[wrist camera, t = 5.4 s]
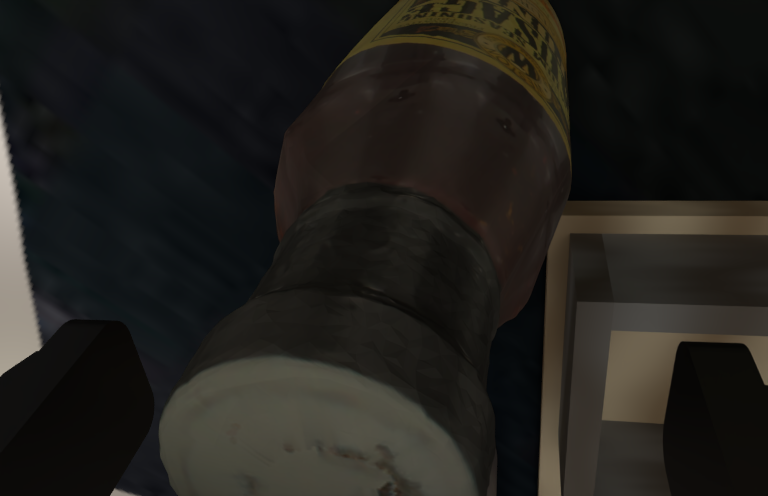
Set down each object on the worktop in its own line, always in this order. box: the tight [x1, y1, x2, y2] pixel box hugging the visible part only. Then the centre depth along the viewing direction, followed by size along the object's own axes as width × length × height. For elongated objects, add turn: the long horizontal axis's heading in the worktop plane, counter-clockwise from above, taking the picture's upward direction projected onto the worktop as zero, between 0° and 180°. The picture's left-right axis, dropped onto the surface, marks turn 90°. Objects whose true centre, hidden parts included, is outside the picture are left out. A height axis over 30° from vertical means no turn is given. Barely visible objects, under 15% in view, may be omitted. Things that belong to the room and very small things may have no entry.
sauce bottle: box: [159, 0, 572, 496], centre depth 16 cm, size 6×6×20 cm
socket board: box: [538, 201, 768, 496], centre depth 29 cm, size 12×23×6 cm, turn 5°
